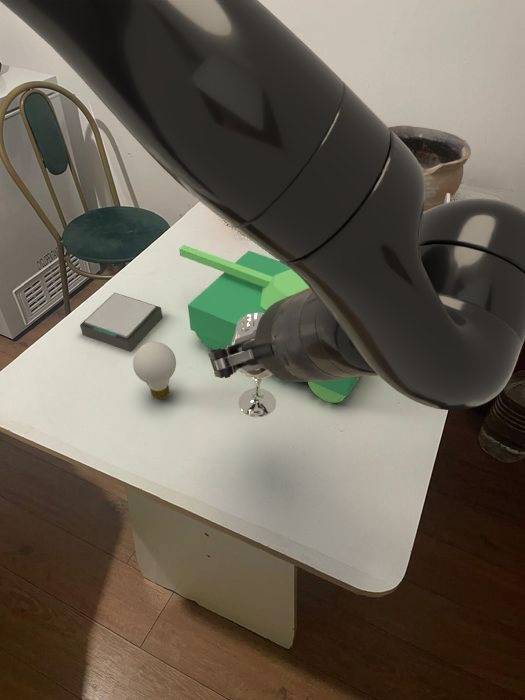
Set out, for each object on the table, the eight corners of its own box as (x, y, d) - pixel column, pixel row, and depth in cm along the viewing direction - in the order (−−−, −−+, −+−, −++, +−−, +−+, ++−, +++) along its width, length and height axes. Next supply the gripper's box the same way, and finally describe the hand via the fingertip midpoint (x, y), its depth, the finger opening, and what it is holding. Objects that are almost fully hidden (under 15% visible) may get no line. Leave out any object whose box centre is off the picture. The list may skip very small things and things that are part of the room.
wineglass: (281, 422, 59) (287, 346, 51) (231, 421, 59) (229, 345, 51) (281, 385, 63) (286, 309, 55) (234, 384, 63) (232, 308, 55)
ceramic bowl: (350, 224, 113) (360, 157, 102) (358, 180, 128) (368, 118, 117) (454, 237, 109) (475, 169, 99) (450, 190, 125) (468, 127, 114)
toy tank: (210, 219, 90) (402, 282, 77) (214, 276, 98) (387, 342, 86) (144, 268, 79) (355, 352, 66) (155, 328, 87) (343, 412, 75)
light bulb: (136, 387, 78) (125, 339, 71) (174, 376, 79) (166, 328, 72) (146, 416, 74) (135, 368, 67) (185, 404, 76) (179, 356, 69)
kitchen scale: (130, 351, 83) (127, 339, 81) (82, 334, 86) (78, 322, 84) (162, 316, 90) (160, 304, 88) (117, 302, 92) (114, 290, 90)
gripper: (374, 268, 44) (296, 300, 60) (220, 316, 39) (179, 336, 55) (400, 351, 44) (315, 361, 60) (251, 409, 39) (201, 403, 55)
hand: (250, 349), depth 57 cm, fingers closed on wineglass, 5 cm apart
